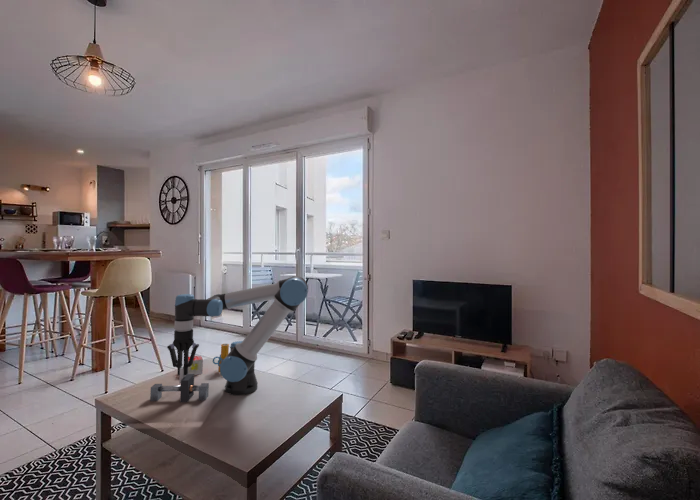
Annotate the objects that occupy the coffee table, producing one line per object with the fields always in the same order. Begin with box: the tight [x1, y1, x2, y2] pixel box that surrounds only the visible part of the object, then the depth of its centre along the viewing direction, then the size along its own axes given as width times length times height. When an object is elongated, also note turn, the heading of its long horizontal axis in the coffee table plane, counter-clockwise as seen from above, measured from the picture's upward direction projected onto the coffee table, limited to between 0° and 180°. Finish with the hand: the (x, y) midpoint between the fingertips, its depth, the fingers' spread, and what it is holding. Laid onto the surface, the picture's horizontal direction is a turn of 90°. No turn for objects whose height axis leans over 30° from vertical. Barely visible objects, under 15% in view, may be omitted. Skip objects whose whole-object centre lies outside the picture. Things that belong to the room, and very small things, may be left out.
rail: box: [149, 382, 210, 402], centre depth 146 cm, size 23×7×7 cm, turn 97°
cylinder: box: [212, 343, 230, 374], centre depth 183 cm, size 12×10×15 cm
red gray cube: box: [187, 354, 204, 376], centre depth 180 cm, size 8×8×8 cm
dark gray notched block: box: [179, 374, 195, 403], centre depth 146 cm, size 3×8×10 cm, turn 7°
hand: (182, 382), depth 146 cm, fingers closed
